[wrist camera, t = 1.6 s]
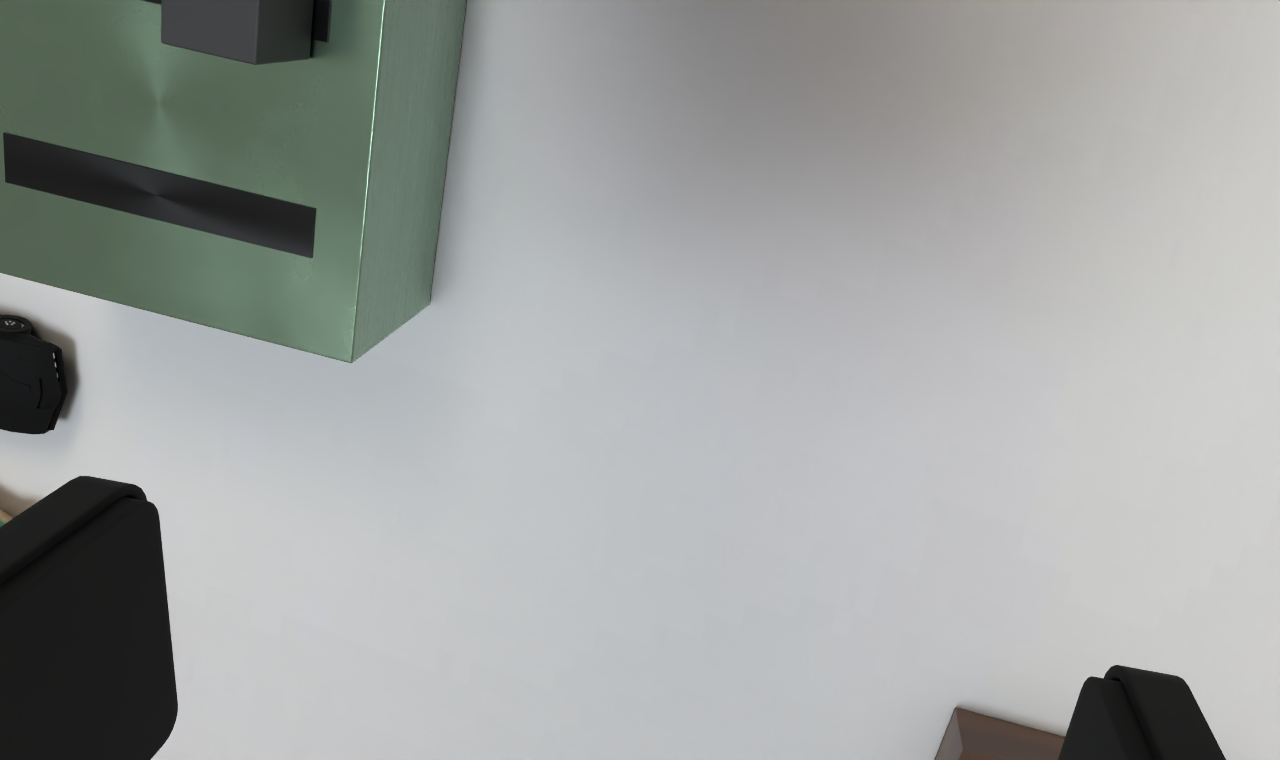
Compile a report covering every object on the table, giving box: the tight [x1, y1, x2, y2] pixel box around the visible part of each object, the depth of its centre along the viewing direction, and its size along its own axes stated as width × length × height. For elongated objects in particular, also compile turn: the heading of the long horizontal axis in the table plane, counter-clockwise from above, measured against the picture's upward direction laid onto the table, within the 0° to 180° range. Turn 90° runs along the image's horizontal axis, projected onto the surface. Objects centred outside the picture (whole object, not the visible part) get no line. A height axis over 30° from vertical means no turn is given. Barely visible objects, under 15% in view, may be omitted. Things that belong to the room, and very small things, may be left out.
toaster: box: [0, 0, 467, 363], centre depth 29 cm, size 12×12×6 cm
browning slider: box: [161, 0, 313, 65], centre depth 24 cm, size 2×2×3 cm
